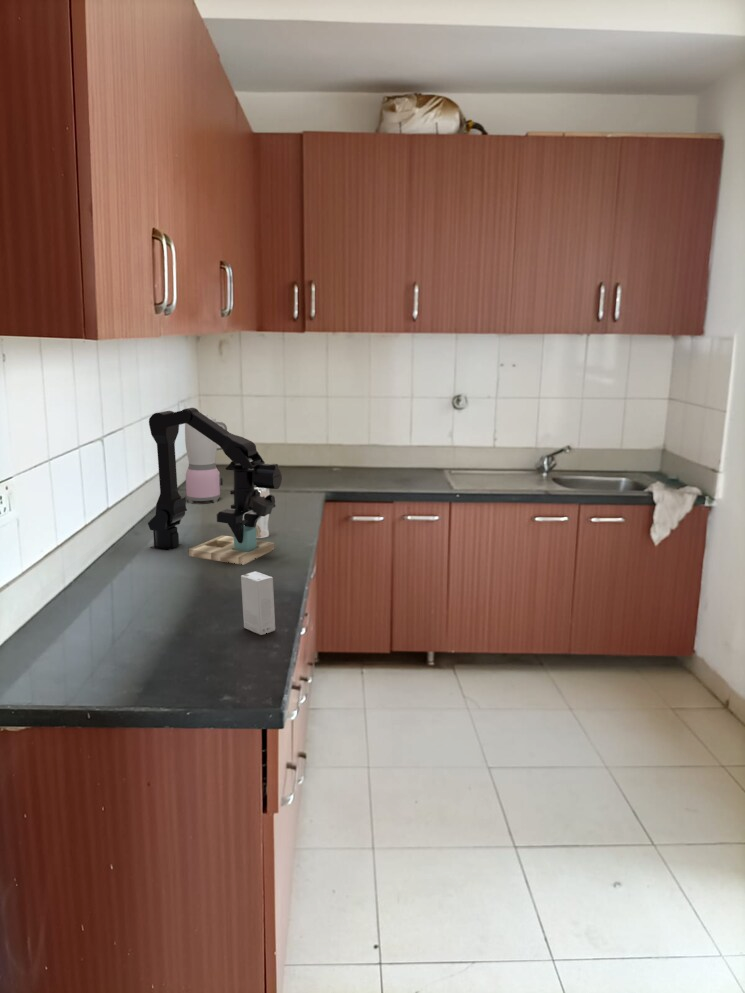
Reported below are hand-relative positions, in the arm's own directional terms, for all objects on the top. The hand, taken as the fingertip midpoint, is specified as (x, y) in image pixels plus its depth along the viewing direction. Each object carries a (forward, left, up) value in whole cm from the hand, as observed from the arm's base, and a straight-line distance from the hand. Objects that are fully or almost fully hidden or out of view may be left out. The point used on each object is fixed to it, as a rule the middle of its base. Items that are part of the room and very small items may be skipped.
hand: (245, 540), depth 211 cm
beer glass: (-7, +19, -5) cm, 21 cm away
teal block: (0, 0, -3) cm, 3 cm away
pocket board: (-4, 0, -5) cm, 6 cm away
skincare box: (+32, -43, -5) cm, 54 cm away
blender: (-51, +53, -5) cm, 74 cm away
